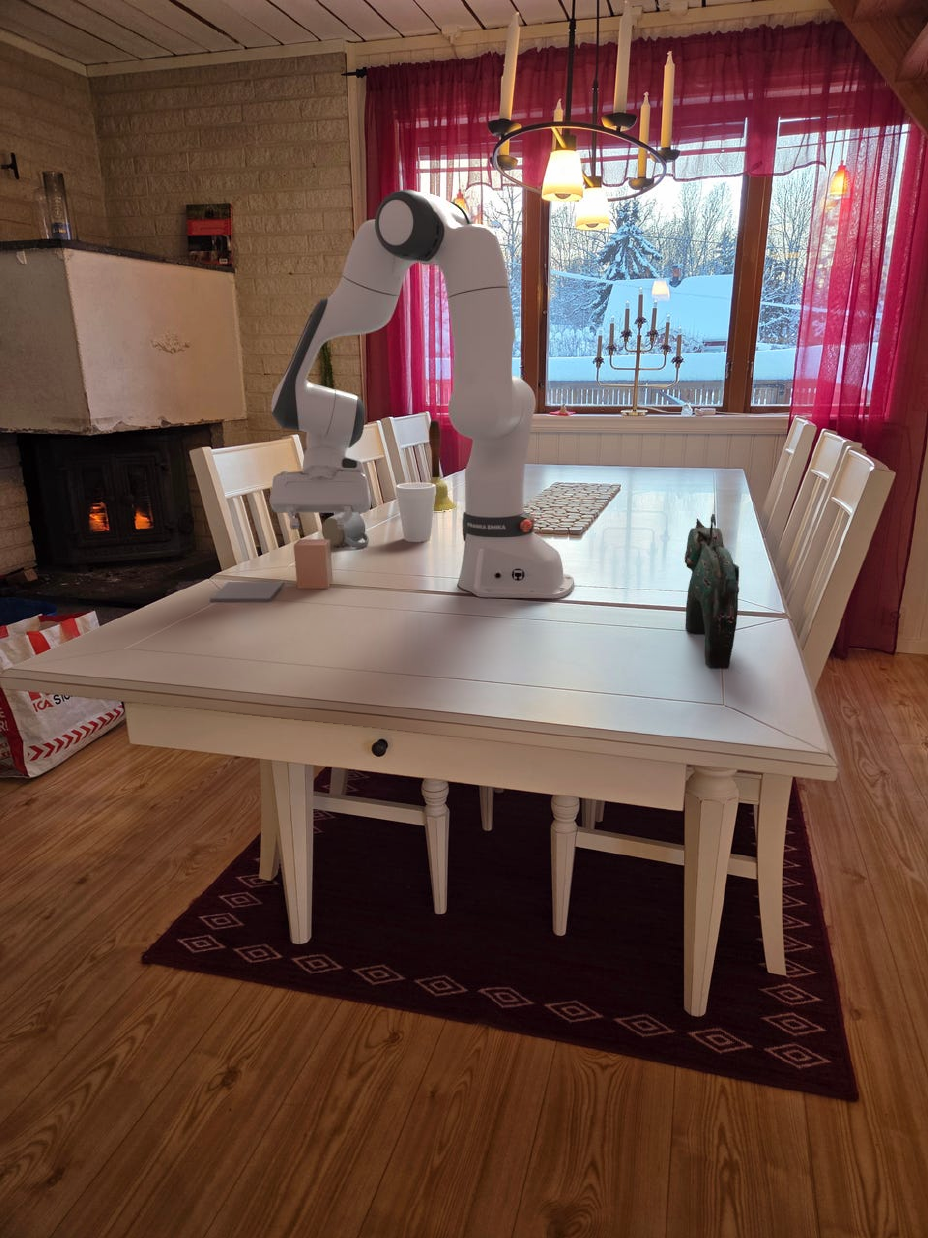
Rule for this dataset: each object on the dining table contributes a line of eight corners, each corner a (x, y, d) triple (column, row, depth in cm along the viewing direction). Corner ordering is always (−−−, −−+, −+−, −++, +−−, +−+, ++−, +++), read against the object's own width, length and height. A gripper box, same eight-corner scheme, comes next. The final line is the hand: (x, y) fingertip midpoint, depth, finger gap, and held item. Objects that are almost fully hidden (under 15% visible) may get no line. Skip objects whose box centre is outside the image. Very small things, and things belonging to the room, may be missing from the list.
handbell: (464, 506, 234) (463, 418, 226) (446, 513, 223) (444, 422, 215) (427, 503, 239) (424, 418, 231) (407, 510, 228) (404, 421, 220)
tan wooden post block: (332, 581, 158) (329, 539, 155) (328, 588, 153) (325, 545, 151) (302, 581, 158) (299, 539, 155) (297, 588, 153) (293, 545, 151)
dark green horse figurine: (676, 624, 131) (686, 504, 125) (717, 625, 130) (728, 504, 124) (698, 670, 112) (710, 531, 106) (745, 671, 112) (760, 531, 105)
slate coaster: (284, 584, 156) (283, 581, 156) (269, 601, 146) (269, 598, 146) (228, 585, 157) (228, 582, 156) (210, 601, 146) (210, 598, 146)
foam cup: (431, 544, 188) (429, 489, 184) (393, 542, 190) (391, 488, 186) (440, 535, 197) (439, 482, 193) (404, 534, 198) (402, 482, 194)
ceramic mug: (320, 545, 188) (318, 513, 185) (342, 539, 194) (341, 507, 192) (355, 551, 182) (353, 519, 180) (377, 544, 189) (375, 512, 186)
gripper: (270, 462, 162) (261, 519, 156) (370, 461, 161) (365, 518, 155) (277, 480, 168) (269, 536, 162) (374, 480, 167) (369, 536, 161)
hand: (317, 527), depth 158 cm, fingers open, 8 cm apart
